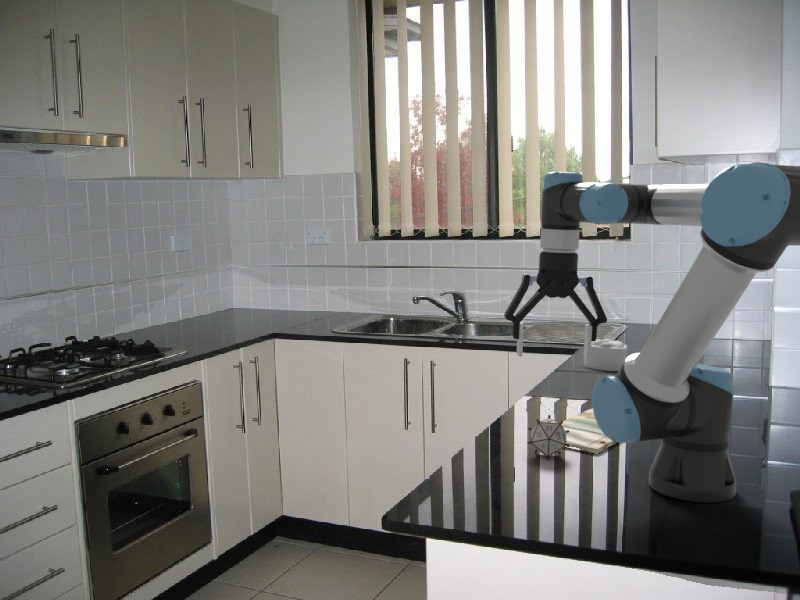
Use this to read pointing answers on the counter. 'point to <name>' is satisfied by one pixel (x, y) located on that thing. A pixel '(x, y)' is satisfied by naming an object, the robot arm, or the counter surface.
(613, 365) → the lumpy-topped squat cylinder
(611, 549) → the counter surface
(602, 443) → the board
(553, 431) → the game die
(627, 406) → the robot arm
